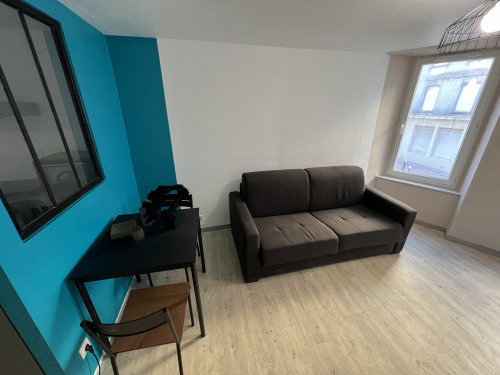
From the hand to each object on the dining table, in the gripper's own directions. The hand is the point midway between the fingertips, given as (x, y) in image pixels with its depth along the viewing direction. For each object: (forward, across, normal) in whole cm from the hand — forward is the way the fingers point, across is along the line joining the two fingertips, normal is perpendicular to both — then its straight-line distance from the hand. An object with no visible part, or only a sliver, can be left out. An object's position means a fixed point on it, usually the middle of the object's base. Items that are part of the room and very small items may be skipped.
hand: (144, 220), depth 130 cm
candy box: (+6, -20, +12) cm, 24 cm away
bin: (+19, -16, -2) cm, 25 cm away
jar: (+13, 0, +4) cm, 14 cm away
